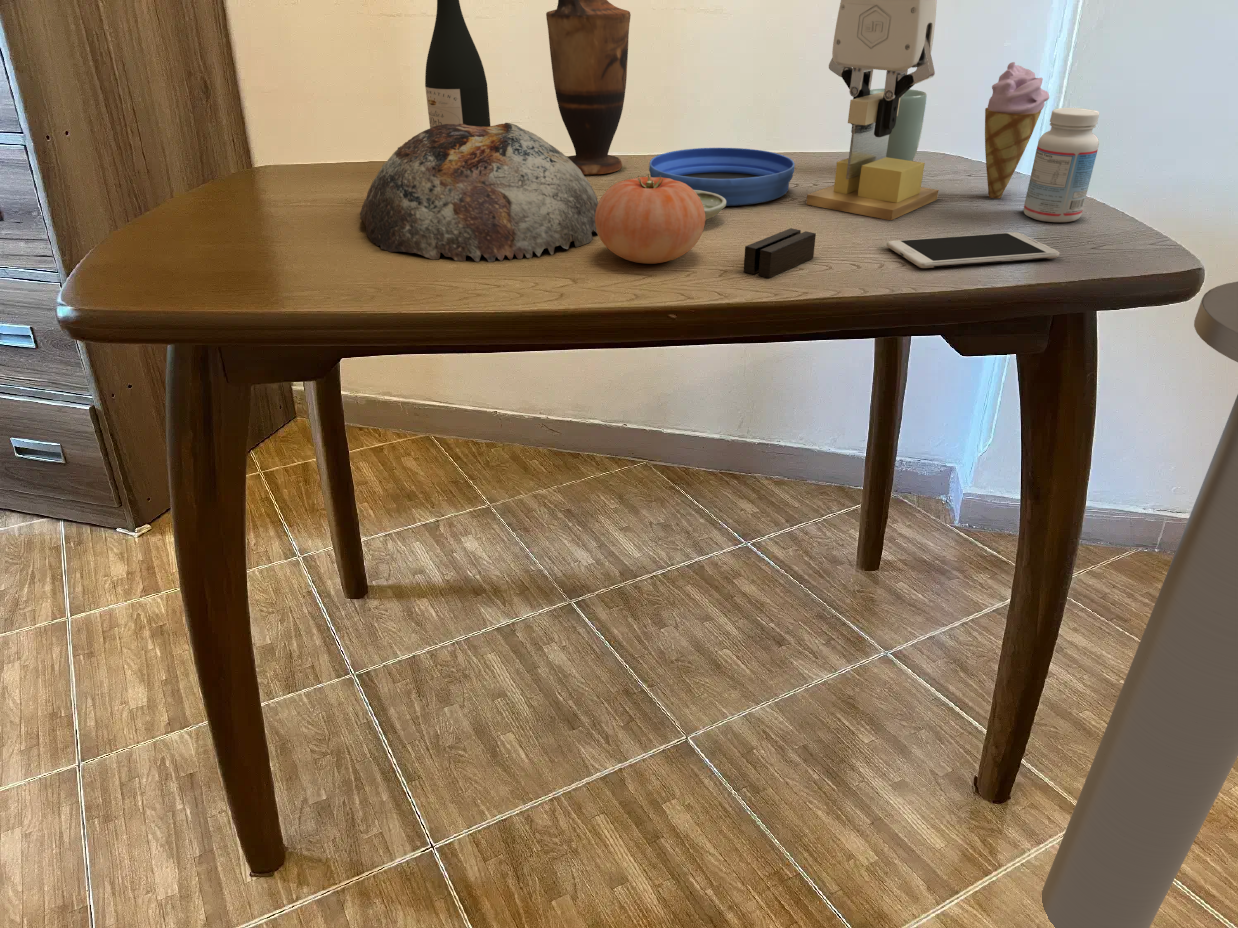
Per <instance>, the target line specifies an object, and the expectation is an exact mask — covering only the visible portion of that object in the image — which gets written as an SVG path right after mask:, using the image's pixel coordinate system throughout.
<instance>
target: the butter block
mask: <svg viewBox="0 0 1238 928" xmlns="http://www.w3.org/2000/svg"><path fill="white" fill-rule="evenodd" d="M925 165H926V163H925V162H921V161H914V160H913V161H909V160H902V159H895V158H888V157H885V158H882V159H879V160H876V161H874V162H871V163H868V164H865V165H862V166H861V174H860V182H859V189H858V196H860V197H866V198H871V199H877V200H883V201H888V202H894V203H898V202H900V201H902V200H905V199H907V198H909V197H912V196H914V195H916V194H919V193H920V189H921V187H922V183H923V177H924V171H925V170H924V169H925Z"/></svg>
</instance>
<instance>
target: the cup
mask: <svg viewBox="0 0 1238 928" xmlns="http://www.w3.org/2000/svg"><path fill="white" fill-rule="evenodd" d="M884 90H885V88H873V89H870V94H876V93H880V92H884ZM927 99H928V94H927V93H926V92H925V91H922V90H917V89H912V88H910V89H909V90H908V91H907V92H906V93H905V94H904V96H903V97H901V98H900V103H899V110H898V116H897V118H896V124H895V127H894V128H893V129H892V132H891V134H889V140H888V146H887V153H886V157H888V158H895V159H902V160H909V161H914V160H915V157H916V155H917V153H918V148H919V145H920V141H921V138H922V137H921V136H922V132H923V126H924V120H925V114H926V108H927Z"/></svg>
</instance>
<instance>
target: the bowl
mask: <svg viewBox="0 0 1238 928" xmlns="http://www.w3.org/2000/svg"><path fill="white" fill-rule="evenodd" d="M795 165H796V163H795V162H794V159H791V158H790V157H788V156H786V155H785V154H784V155H783V154H780V153H776V152H773V151H768V150H761V149H752V148H742V147H698V148H697V147H696V148H686V149H677V150H672V151H667V152H664V153H661V154H657V155H655V156H654V157H652V158H651V159H650V160H649V165H648V166H649V167H648V171H649V177H660V175H661V177H663V178H670V179H673V180H676V181H680V182H683V183H685V184H687V185H688V186H689V187H691V188H692V189H693V190H700V191H706V192H711V193H715V194H718V195H720V196H722V197H724V198H725V200H726V206H725V207H733V206H735V207H736V206H737V207H738V206H748V205H755V204H756V205H757V204H763V203H766V202H771V201H774V200H778V199H779V198H782V197H783V196H784V195H786V194H787V192H788V191H789V188H790V187H789V186H790V182H791V180H792V179H793V176H794V173H795Z"/></svg>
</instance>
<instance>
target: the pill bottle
mask: <svg viewBox="0 0 1238 928" xmlns="http://www.w3.org/2000/svg"><path fill="white" fill-rule="evenodd" d="M1099 118H1100V111H1098V110H1094V109H1089V108H1082V107H1059V108H1054V109H1053V110H1051V115H1050V119H1049V122H1050V123H1049V126H1050V130H1048V131H1046V132H1044V133H1043V134H1042V135H1041V136H1040V137H1039V139H1038V142H1037V146H1036V150H1035V155H1034V159H1033V164H1032V168H1031V173H1030V178H1029V183H1028V187H1027V191H1026V197H1025V201H1024V204H1023V213H1024V215H1026V216H1027V217H1029V218H1031V219H1034V220H1036V221H1041V222H1047V223H1071V222H1074V221H1077V220H1079V219H1080V218H1081V217H1082V213H1083V211H1084V206H1085V204H1086V203H1085V202H1086V198H1087V194H1088V190H1089V186H1090V182H1091V178H1092V174H1093V171H1094V166H1095V162H1096V159H1097V155H1098V151H1099V146H1100V140H1099V138H1098V137H1097V135H1096V134H1095V133H1093V129H1095V128H1096V126H1097V125H1098V122H1099Z"/></svg>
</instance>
